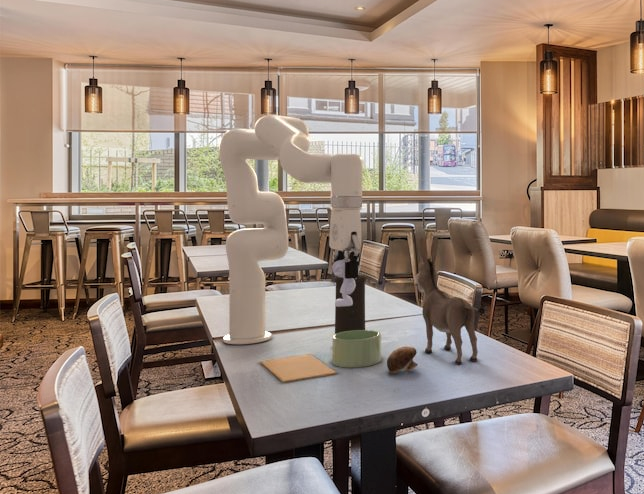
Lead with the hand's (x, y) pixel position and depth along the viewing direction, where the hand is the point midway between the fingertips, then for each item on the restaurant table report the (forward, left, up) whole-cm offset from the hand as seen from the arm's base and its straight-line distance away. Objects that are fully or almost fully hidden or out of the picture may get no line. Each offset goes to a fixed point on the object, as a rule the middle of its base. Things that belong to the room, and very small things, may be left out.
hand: (345, 275), depth 153 cm
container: (-14, +7, -21) cm, 27 cm away
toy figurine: (0, 0, -7) cm, 7 cm away
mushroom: (+16, +8, -21) cm, 28 cm away
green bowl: (+1, +3, -21) cm, 21 cm away
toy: (+9, +24, -21) cm, 33 cm away
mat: (-1, -11, -21) cm, 24 cm away
